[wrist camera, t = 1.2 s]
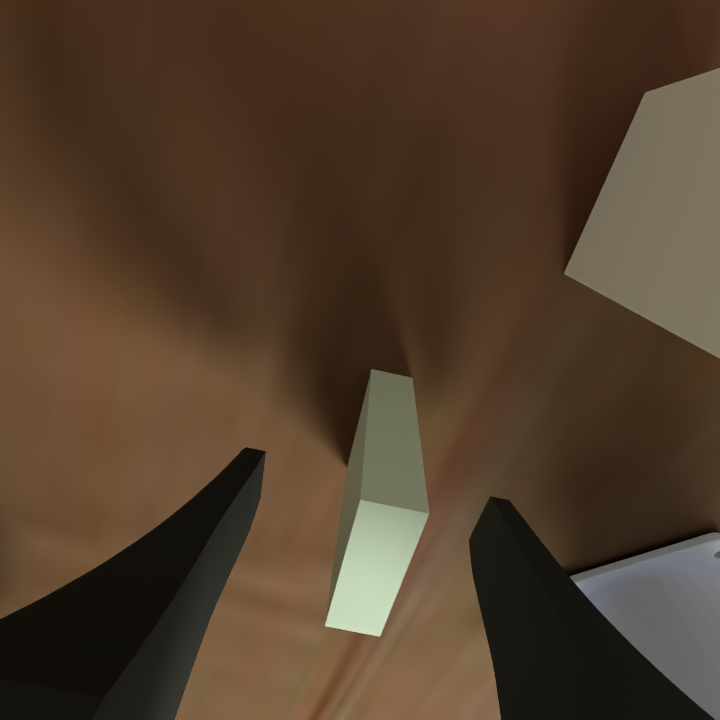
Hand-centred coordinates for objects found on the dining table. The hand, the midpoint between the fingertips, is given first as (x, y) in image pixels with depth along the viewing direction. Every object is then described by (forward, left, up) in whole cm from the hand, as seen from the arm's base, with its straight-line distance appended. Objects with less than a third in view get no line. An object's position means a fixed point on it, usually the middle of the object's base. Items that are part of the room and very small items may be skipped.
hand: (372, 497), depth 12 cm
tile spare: (0, 0, -4) cm, 4 cm away
